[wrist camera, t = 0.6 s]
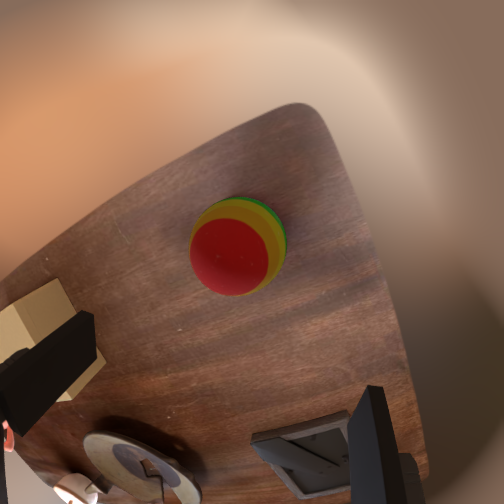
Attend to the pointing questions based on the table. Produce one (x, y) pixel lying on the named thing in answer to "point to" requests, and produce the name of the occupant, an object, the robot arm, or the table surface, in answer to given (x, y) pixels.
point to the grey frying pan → (136, 469)
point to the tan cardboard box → (41, 327)
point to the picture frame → (309, 455)
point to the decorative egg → (237, 246)
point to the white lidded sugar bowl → (75, 489)
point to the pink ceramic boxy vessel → (8, 438)
